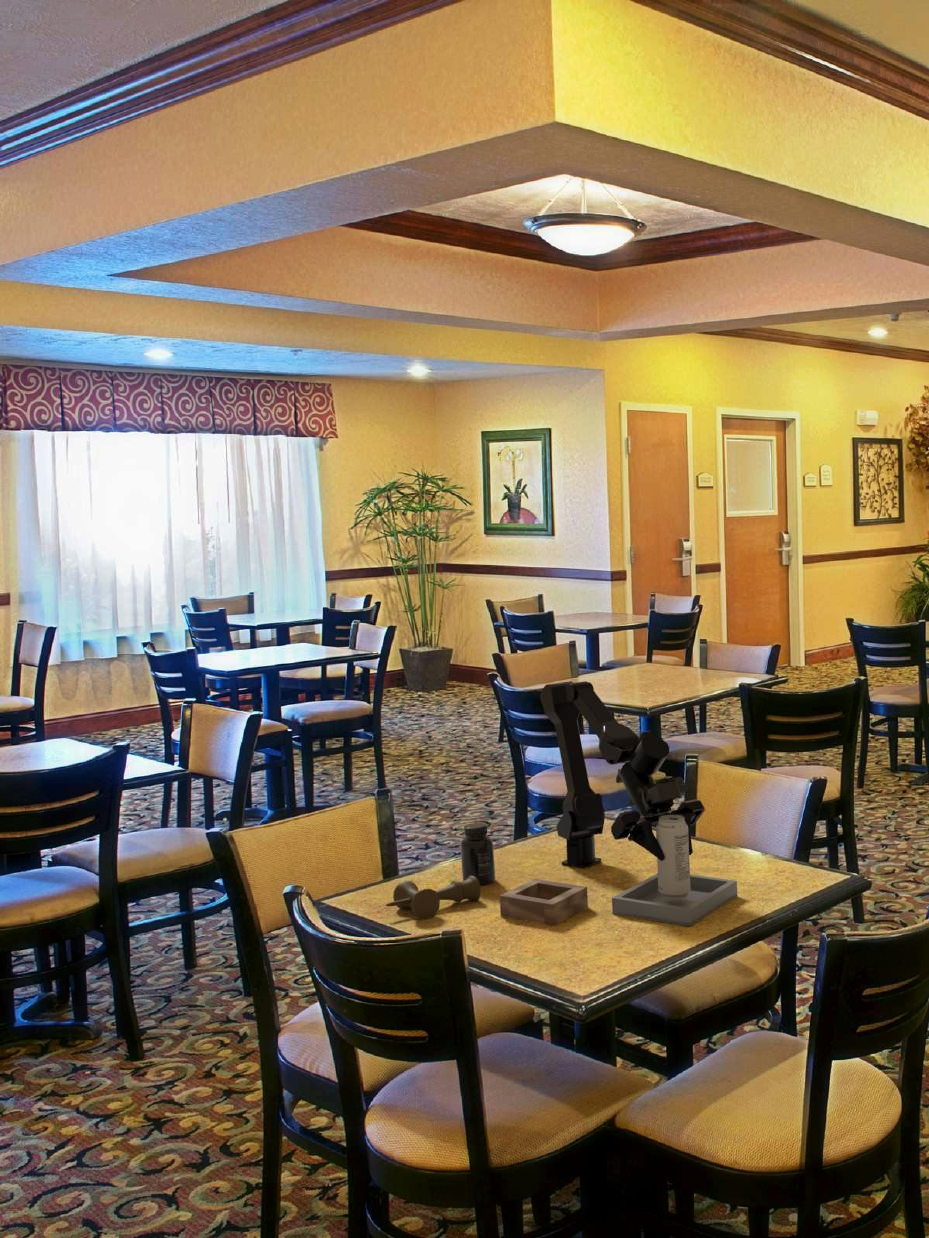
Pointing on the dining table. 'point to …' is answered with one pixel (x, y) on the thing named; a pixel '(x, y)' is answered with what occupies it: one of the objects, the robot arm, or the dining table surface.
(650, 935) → the dining table surface
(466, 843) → the supplement bottle
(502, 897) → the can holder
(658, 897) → the parts tray
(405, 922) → the dining table surface
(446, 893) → the kendama
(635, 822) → the robot arm
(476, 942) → the dining table surface
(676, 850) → the energy drink can
